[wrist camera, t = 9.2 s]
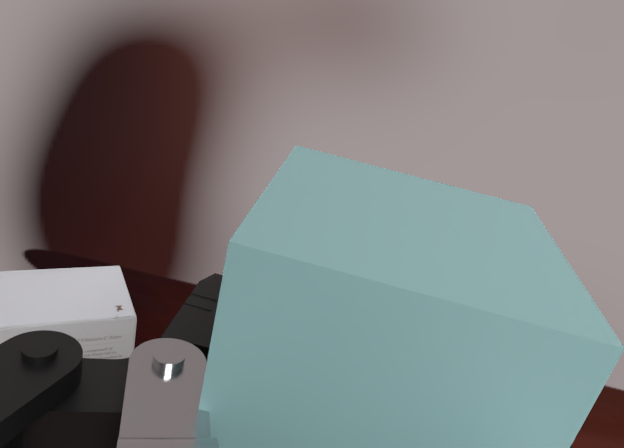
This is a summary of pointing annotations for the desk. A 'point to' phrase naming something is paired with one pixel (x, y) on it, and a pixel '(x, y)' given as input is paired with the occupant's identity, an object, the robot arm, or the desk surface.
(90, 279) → the small box
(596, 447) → the desk surface
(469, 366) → the teal block
